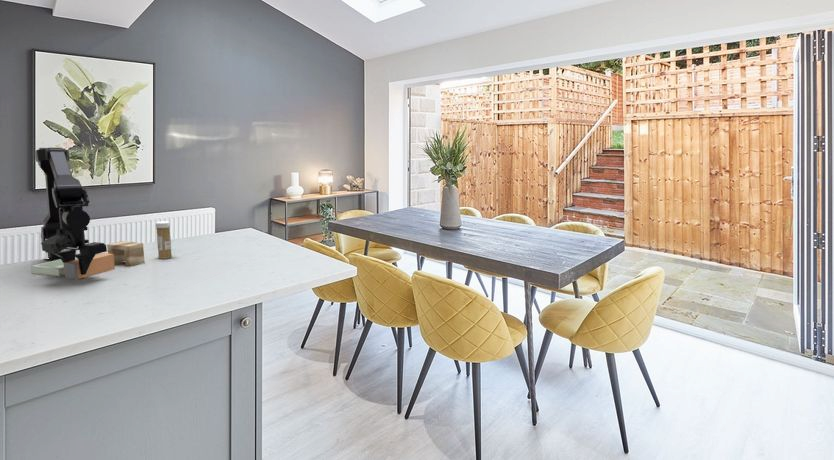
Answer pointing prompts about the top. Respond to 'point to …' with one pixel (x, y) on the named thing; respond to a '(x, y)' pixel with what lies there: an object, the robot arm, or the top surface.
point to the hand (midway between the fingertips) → (77, 273)
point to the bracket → (127, 252)
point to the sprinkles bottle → (163, 239)
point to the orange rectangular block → (96, 266)
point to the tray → (50, 268)
